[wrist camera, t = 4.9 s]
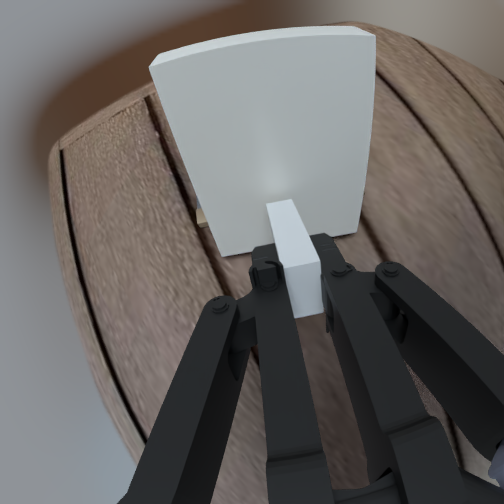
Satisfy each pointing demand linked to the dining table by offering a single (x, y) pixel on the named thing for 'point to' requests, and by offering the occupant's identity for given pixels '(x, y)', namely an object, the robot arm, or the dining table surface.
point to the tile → (273, 127)
